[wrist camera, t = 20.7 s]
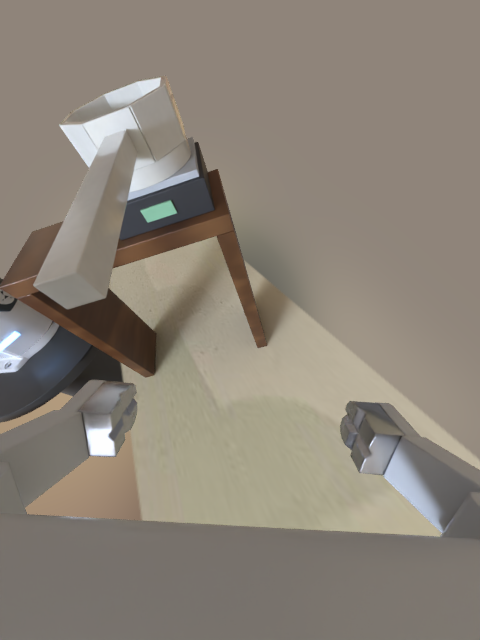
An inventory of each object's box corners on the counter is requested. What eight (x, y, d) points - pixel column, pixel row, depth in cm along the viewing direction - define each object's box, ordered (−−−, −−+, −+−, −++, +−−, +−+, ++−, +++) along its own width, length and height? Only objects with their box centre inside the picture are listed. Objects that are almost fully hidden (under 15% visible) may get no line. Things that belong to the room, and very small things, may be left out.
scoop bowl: (46, 358, 9) (-94, 295, 6) (113, 163, 20) (77, 104, 17) (212, 310, 9) (156, 213, 5) (189, 136, 20) (166, 69, 16)
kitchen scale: (120, 242, 19) (93, 207, 16) (130, 198, 23) (109, 164, 20) (215, 211, 18) (201, 170, 15) (207, 171, 22) (195, 134, 20)
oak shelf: (145, 377, 37) (-3, 287, 19) (148, 335, 42) (31, 231, 24) (267, 345, 35) (229, 213, 17) (256, 305, 40) (217, 168, 22)
